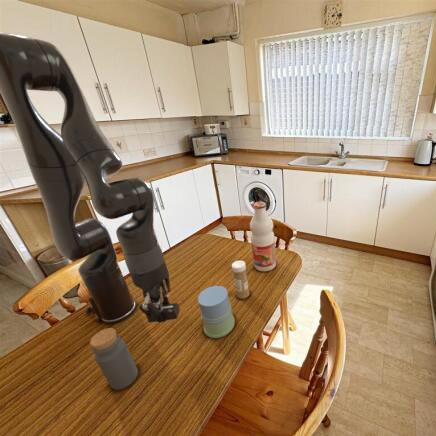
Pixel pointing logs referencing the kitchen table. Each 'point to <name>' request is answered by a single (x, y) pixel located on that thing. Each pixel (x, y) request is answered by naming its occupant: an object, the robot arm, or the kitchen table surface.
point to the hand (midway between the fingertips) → (164, 315)
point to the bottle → (114, 358)
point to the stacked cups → (216, 311)
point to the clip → (167, 312)
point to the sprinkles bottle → (240, 279)
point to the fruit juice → (262, 238)
